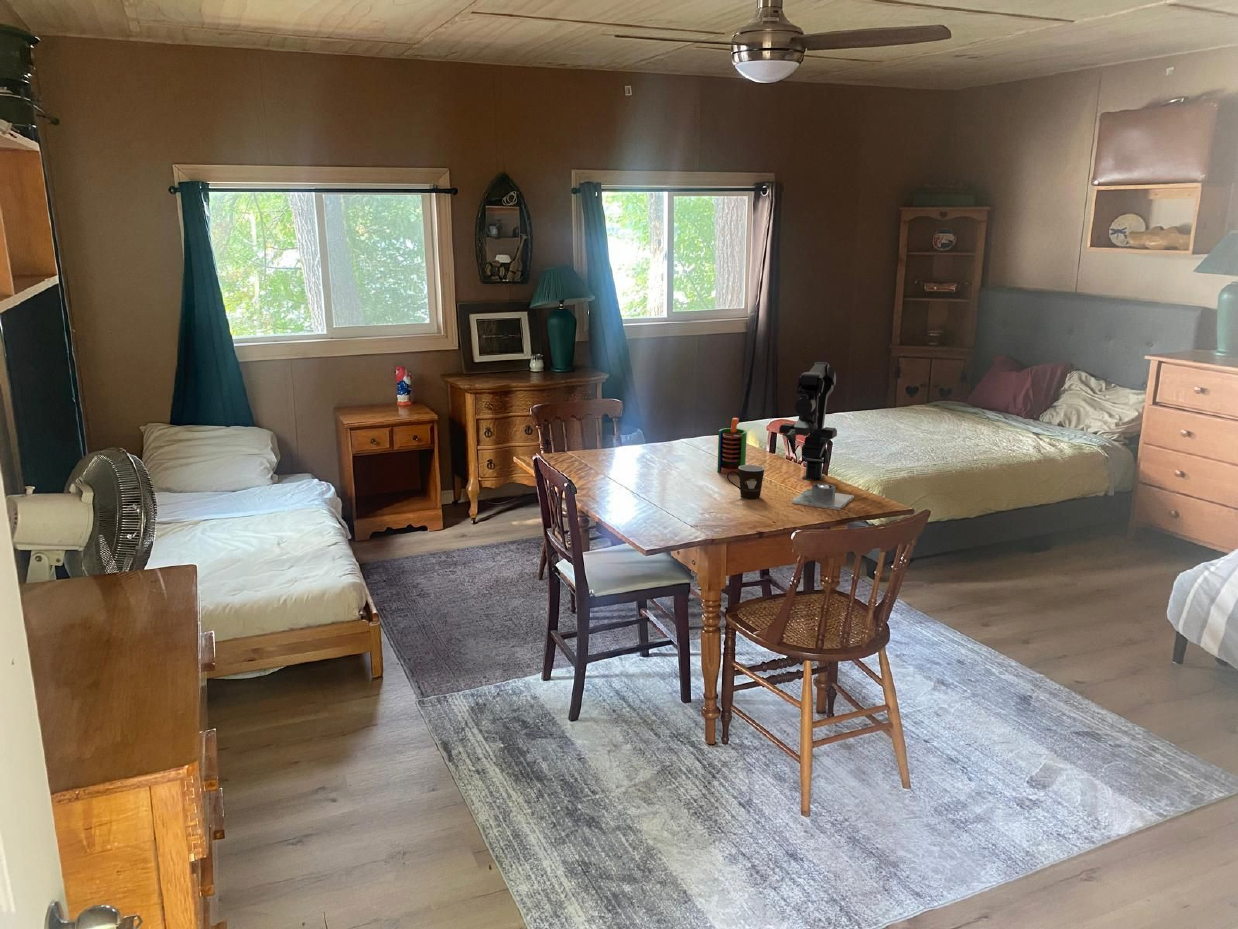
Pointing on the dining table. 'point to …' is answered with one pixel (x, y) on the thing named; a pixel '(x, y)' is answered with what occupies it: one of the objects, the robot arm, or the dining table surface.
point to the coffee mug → (749, 481)
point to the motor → (731, 448)
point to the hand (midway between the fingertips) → (806, 455)
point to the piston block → (835, 504)
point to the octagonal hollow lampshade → (823, 492)
